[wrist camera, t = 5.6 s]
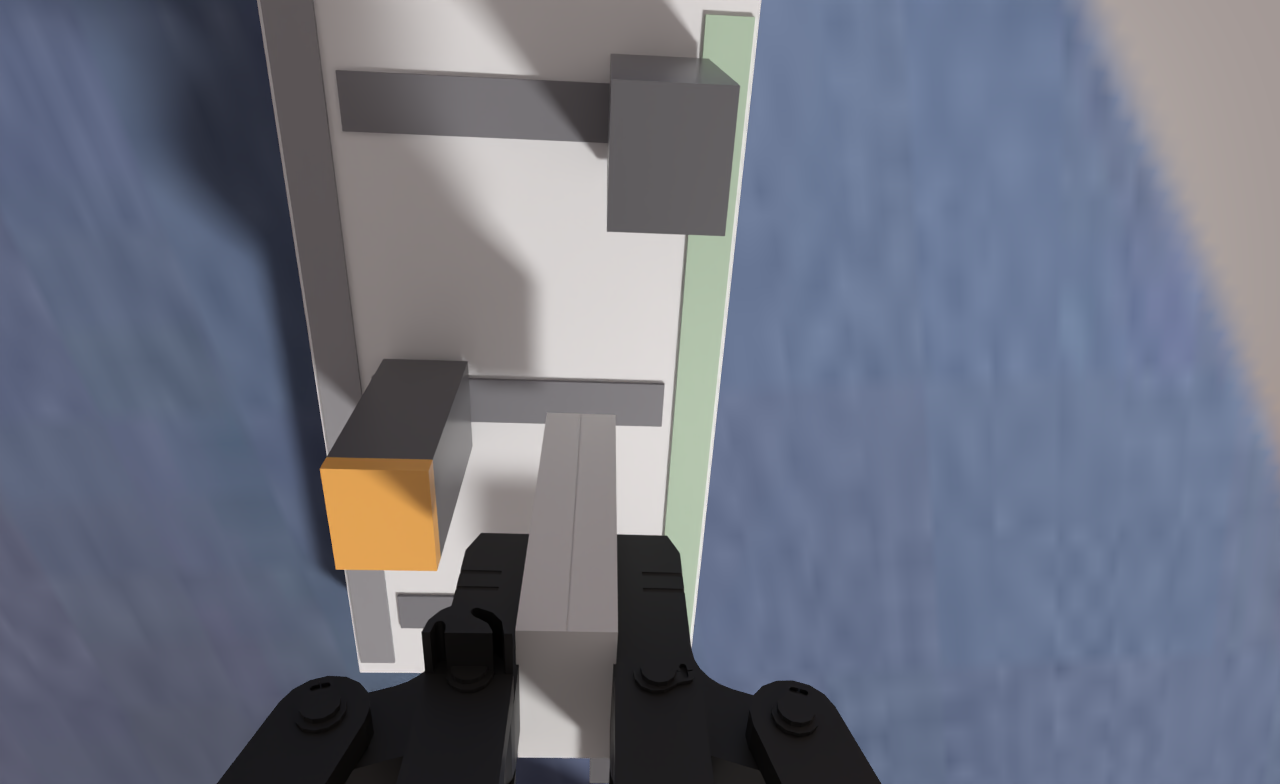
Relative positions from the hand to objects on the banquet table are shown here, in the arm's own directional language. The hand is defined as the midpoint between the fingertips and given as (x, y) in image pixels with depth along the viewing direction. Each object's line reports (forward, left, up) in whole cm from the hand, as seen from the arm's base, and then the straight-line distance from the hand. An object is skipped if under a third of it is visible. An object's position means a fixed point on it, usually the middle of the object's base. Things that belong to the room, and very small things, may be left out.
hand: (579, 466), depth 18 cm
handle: (-7, +1, -2) cm, 8 cm away
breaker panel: (0, -2, -5) cm, 5 cm away
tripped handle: (0, -4, -2) cm, 5 cm away
